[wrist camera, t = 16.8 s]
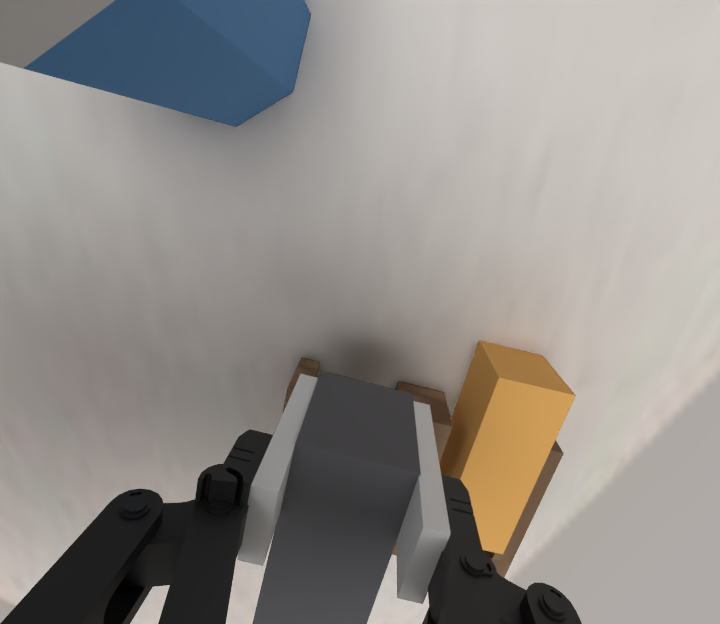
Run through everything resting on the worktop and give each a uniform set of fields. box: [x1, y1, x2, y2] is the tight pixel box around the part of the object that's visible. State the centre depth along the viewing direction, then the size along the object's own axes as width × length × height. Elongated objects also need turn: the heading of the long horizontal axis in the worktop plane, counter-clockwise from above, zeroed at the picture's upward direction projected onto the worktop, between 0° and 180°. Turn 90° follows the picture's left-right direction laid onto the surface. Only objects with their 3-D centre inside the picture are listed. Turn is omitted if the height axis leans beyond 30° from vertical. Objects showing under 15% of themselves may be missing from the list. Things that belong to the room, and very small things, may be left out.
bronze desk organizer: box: [283, 358, 563, 578], centre depth 27 cm, size 16×10×4 cm, turn 77°
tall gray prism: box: [253, 371, 421, 624], centre depth 17 cm, size 4×11×5 cm, turn 166°
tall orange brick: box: [439, 341, 576, 554], centre depth 25 cm, size 4×11×5 cm, turn 167°
